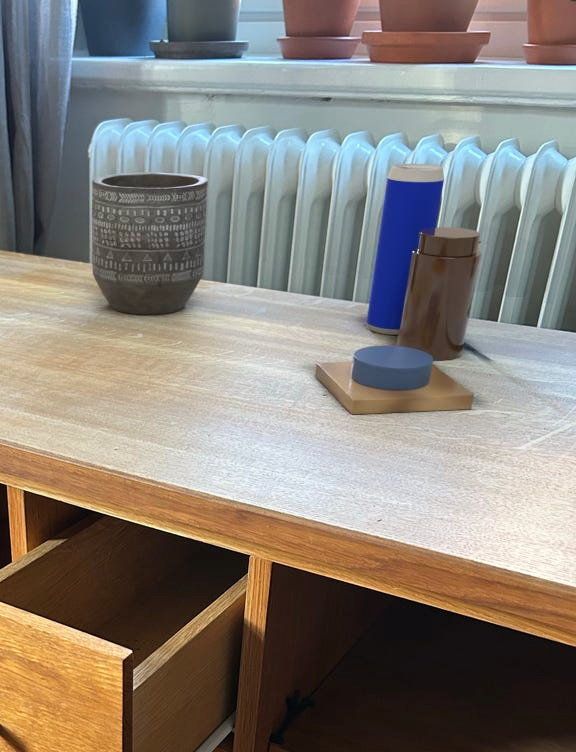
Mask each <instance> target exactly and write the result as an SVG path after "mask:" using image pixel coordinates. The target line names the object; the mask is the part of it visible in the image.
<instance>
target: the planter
mask: <svg viewBox="0 0 576 752" xmlns="http://www.w3.org/2000/svg"><path fill="white" fill-rule="evenodd" d="M208 182H209V181H208V178H207V177H204V176H200V175H195V174H185V173H174V172H173V173H172V172H158V171H147V172H146V171H145V172H144V171H143V172H127V173H126V172H125V173H113V174H106V175H102V176H97V177H94V178H93V179H92V180H91V186H92V188H91V189H92V190H91V191H92V192H91V194H92V196H91V197H92V199H91V203H92V204H91V206H92V207H91V228H92V229H91V230H92V231H91V232H92V246H91V247H92V249H91V250H92V251H91V253H92V254H91V264H92V265H91V266H92V276H93V277H94V280H95V282H96V284H97V286H98V288H99V289H100V291H101V293H102V295H103V296H104V298H105V300H106V301H107V303H108V304H109V306H110V308H111V309H113V310H115V311H117V312H120V313H124V314H131V315H141V316H143V315H146V316H147V315H148V316H149V315H150V316H151V315H165V314H170V313H174V312H178V311H180V310H182V309H183V308H184V307H185V305H186V304H187V303H188V301H189V300H190V298H191V297H192V295H193V293H194V291H195V290H196V288H197V287H198V285H199V283H200V281H201V279H202V277H203V275H204V268H205V249H206V248H205V247H206V246H205V244H206V243H205V242H206V241H205V239H206V226H207V225H206V224H207V207H208V205H207V204H208V202H207V201H208V199H207V197H208Z"/></svg>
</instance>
